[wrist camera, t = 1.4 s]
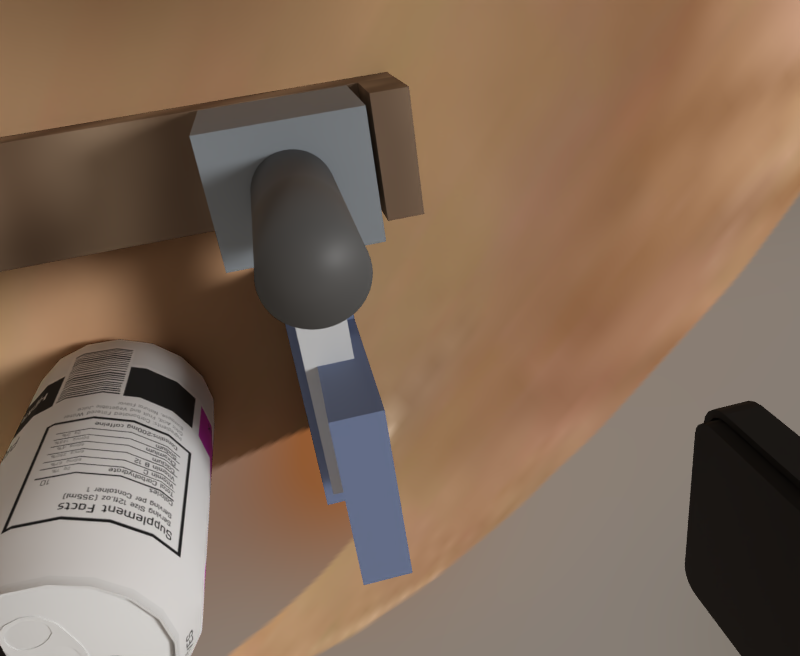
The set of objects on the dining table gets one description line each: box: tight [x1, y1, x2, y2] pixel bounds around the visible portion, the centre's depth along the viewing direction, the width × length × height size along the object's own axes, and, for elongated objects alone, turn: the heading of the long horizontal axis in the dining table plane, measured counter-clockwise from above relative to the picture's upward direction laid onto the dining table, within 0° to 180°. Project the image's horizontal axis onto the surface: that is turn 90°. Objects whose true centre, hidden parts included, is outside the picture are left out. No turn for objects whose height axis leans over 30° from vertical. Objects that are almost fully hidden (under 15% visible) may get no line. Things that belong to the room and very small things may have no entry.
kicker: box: [189, 85, 412, 585], centre depth 28 cm, size 6×20×14 cm, turn 8°
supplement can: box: [0, 339, 214, 656], centre depth 28 cm, size 8×8×15 cm
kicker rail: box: [0, 72, 424, 272], centre depth 28 cm, size 30×5×4 cm, turn 98°
